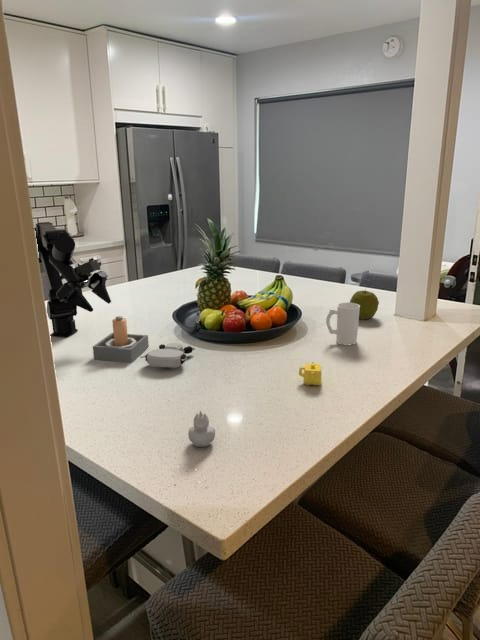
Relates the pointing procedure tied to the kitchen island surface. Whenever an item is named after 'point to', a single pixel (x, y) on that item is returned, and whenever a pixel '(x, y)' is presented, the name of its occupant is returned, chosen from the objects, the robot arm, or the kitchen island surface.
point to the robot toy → (168, 355)
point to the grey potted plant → (201, 431)
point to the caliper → (198, 317)
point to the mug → (345, 322)
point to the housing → (120, 348)
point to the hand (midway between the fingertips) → (101, 306)
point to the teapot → (311, 374)
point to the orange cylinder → (120, 331)
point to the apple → (365, 303)
